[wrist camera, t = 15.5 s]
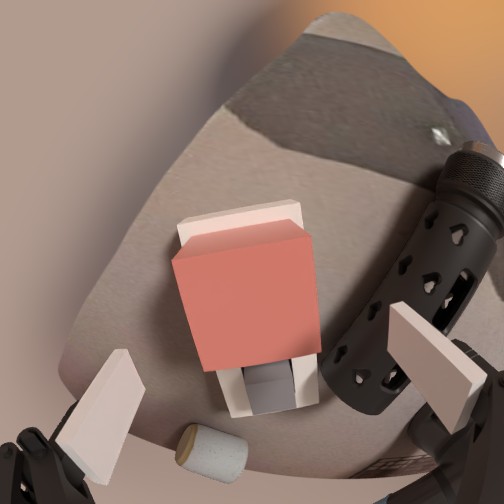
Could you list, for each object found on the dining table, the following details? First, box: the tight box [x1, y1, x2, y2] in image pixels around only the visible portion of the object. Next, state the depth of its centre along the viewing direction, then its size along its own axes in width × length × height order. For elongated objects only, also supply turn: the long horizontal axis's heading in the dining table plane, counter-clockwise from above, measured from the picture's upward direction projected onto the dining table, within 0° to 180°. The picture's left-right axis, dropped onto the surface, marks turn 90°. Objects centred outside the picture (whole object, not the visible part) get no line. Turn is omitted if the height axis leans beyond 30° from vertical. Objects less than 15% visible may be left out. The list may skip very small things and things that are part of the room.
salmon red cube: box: [171, 219, 321, 372], centre depth 20 cm, size 8×8×7 cm
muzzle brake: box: [321, 141, 504, 415], centre depth 23 cm, size 10×28×10 cm, turn 148°
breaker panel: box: [177, 199, 319, 418], centre depth 27 cm, size 22×10×4 cm, turn 10°
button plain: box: [244, 359, 297, 415], centre depth 26 cm, size 4×4×4 cm
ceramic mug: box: [175, 424, 248, 484], centre depth 30 cm, size 11×8×8 cm
